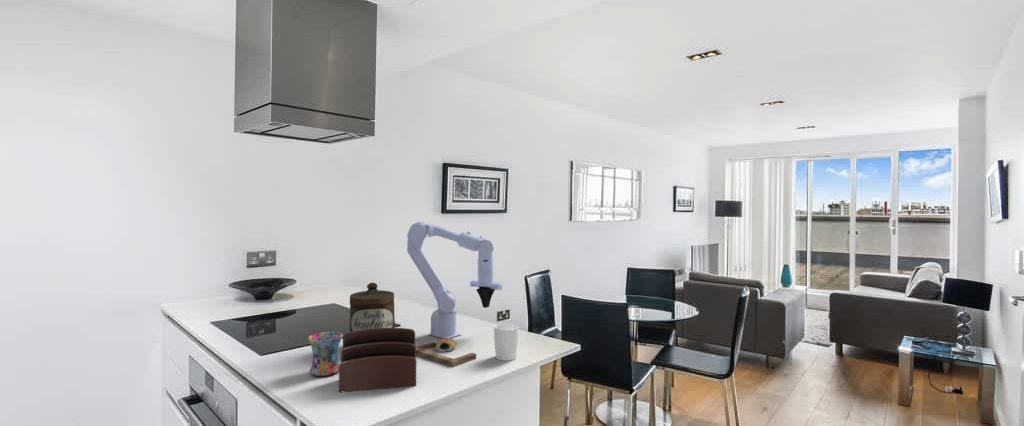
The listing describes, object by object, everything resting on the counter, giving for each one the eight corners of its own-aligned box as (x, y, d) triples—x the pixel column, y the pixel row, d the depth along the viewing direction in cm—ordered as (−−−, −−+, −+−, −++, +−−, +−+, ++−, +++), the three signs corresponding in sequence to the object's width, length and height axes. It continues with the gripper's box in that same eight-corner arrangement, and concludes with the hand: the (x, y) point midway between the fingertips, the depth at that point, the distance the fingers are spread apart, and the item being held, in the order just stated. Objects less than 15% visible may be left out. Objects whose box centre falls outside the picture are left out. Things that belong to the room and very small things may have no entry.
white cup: (489, 359, 149) (489, 327, 149) (501, 352, 156) (501, 322, 156) (511, 363, 145) (511, 331, 145) (522, 356, 152) (522, 325, 152)
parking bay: (408, 352, 154) (408, 348, 154) (431, 345, 162) (431, 341, 162) (453, 366, 141) (453, 362, 141) (476, 358, 149) (476, 353, 149)
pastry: (438, 344, 165) (438, 333, 165) (457, 344, 165) (458, 333, 165) (434, 352, 156) (434, 341, 156) (454, 352, 156) (454, 341, 156)
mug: (331, 379, 130) (331, 341, 130) (301, 377, 132) (301, 339, 132) (352, 365, 142) (352, 330, 142) (324, 363, 144) (324, 328, 143)
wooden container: (349, 355, 151) (349, 287, 151) (349, 342, 165) (349, 280, 165) (396, 351, 156) (396, 285, 155) (392, 339, 170) (393, 278, 169)
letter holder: (342, 379, 131) (342, 329, 131) (415, 373, 136) (415, 325, 136) (338, 393, 121) (338, 339, 121) (416, 386, 126) (416, 334, 126)
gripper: (507, 271, 175) (507, 307, 175) (478, 268, 184) (479, 302, 184) (494, 273, 169) (495, 311, 169) (465, 270, 178) (466, 306, 179)
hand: (486, 307), depth 176 cm, fingers closed
